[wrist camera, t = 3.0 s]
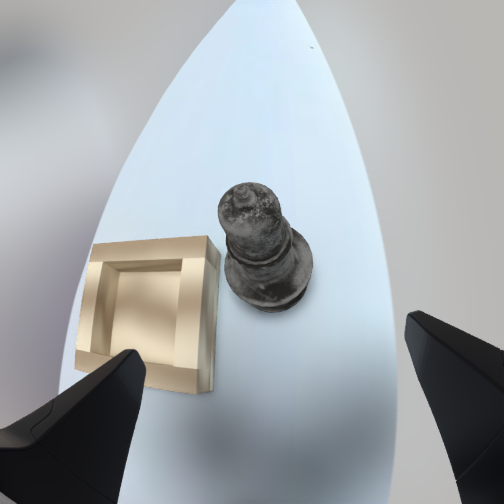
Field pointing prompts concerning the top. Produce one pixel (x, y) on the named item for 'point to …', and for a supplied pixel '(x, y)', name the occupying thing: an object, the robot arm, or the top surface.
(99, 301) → the shaker caddy
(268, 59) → the top surface
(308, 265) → the weathered stone finial
